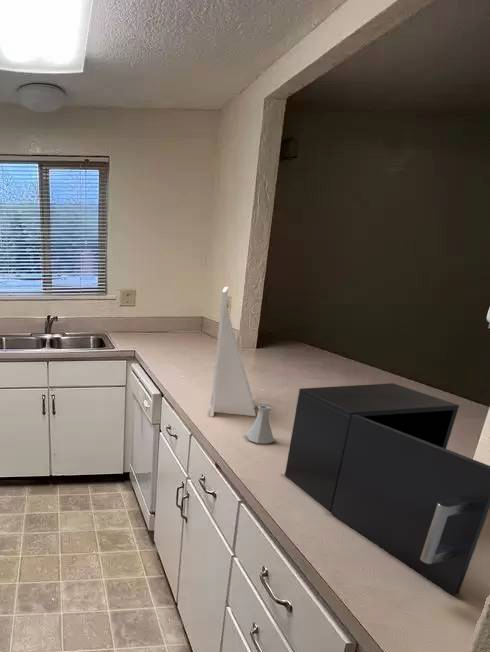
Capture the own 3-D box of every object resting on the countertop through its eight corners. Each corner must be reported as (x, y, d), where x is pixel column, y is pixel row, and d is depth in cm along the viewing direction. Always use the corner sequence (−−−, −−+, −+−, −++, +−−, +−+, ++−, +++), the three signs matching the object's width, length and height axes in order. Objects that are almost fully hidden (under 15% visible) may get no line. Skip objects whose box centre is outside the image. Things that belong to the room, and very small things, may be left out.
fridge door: (428, 603, 66) (471, 477, 59) (309, 517, 88) (329, 417, 80) (458, 594, 68) (503, 470, 60) (334, 512, 89) (356, 414, 82)
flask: (256, 445, 121) (261, 412, 118) (241, 435, 128) (245, 403, 124) (278, 443, 123) (284, 410, 119) (263, 433, 129) (267, 401, 126)
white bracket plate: (256, 421, 139) (273, 292, 125) (210, 416, 143) (222, 291, 130) (254, 402, 157) (270, 287, 143) (213, 398, 161) (224, 287, 147)
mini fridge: (430, 501, 94) (459, 405, 86) (329, 511, 90) (351, 412, 82) (372, 467, 108) (393, 383, 101) (284, 475, 105) (299, 388, 97)
